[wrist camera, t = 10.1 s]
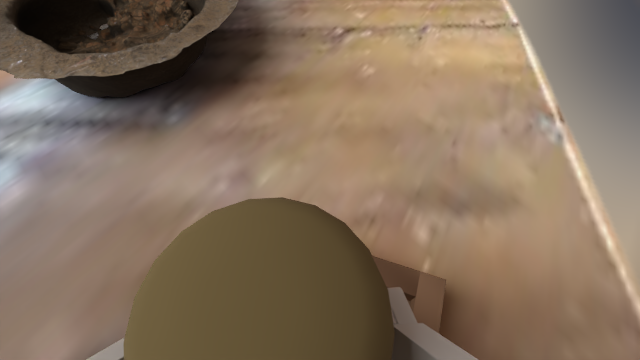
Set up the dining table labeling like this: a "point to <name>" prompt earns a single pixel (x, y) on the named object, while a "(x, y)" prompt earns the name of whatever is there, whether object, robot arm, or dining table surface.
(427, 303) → the walnut socket block
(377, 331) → the cork
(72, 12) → the stone bowl
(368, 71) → the dining table surface
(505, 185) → the dining table surface
